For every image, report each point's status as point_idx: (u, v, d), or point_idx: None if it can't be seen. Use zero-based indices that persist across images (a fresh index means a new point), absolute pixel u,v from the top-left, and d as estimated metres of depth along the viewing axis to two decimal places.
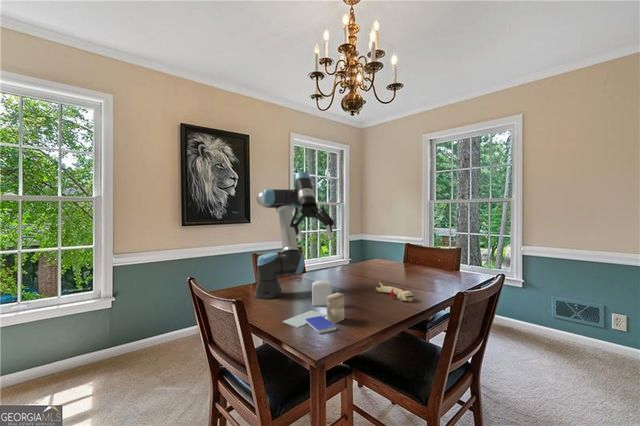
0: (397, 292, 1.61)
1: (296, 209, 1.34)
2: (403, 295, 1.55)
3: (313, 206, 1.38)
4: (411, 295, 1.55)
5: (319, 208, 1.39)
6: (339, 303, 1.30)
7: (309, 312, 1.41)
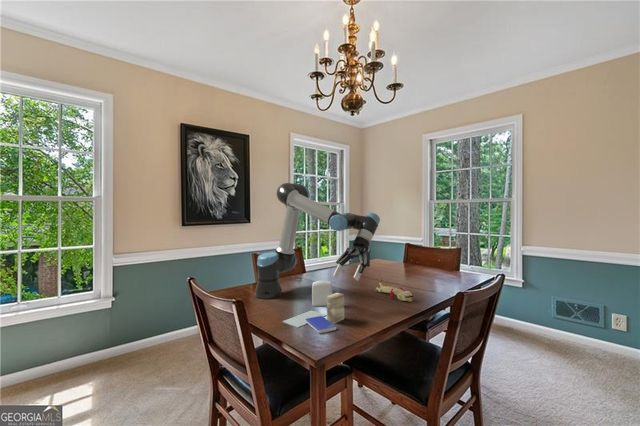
0: (397, 292, 1.61)
1: None
2: (403, 295, 1.55)
3: None
4: (411, 295, 1.55)
5: None
6: (339, 303, 1.30)
7: (309, 312, 1.41)
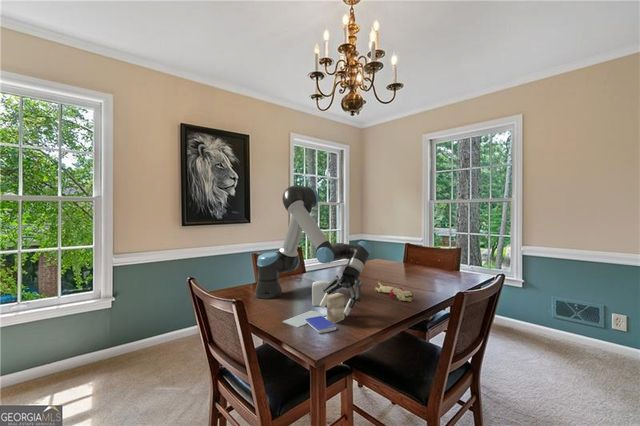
0: (396, 292, 1.61)
1: None
2: (402, 295, 1.56)
3: None
4: (410, 295, 1.55)
5: None
6: (339, 303, 1.30)
7: (309, 312, 1.41)
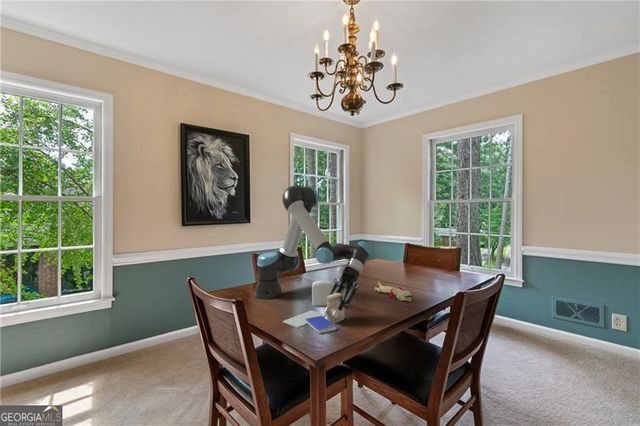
0: (396, 292, 1.61)
1: None
2: (402, 295, 1.56)
3: None
4: (410, 295, 1.56)
5: None
6: None
7: (309, 312, 1.41)
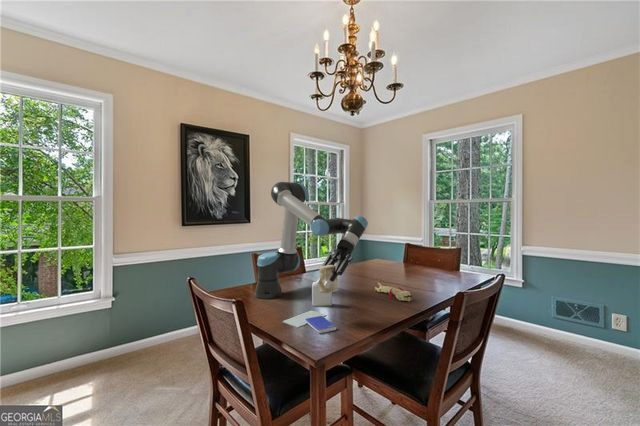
0: (396, 292, 1.61)
1: None
2: (401, 295, 1.56)
3: None
4: (409, 295, 1.56)
5: None
6: None
7: (309, 312, 1.41)
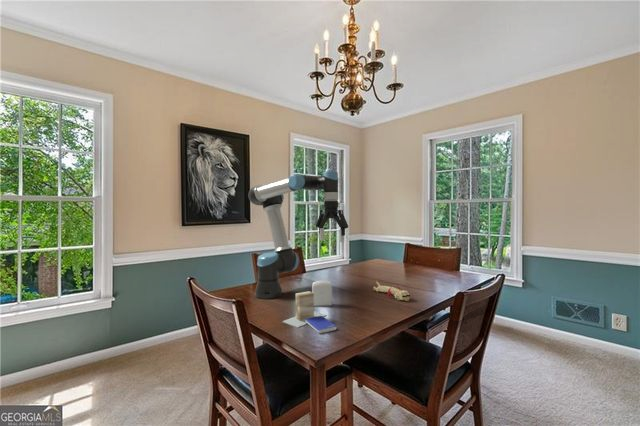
0: (394, 291, 1.62)
1: None
2: (400, 294, 1.57)
3: None
4: (408, 294, 1.56)
5: (324, 210, 1.61)
6: (306, 302, 1.32)
7: None
